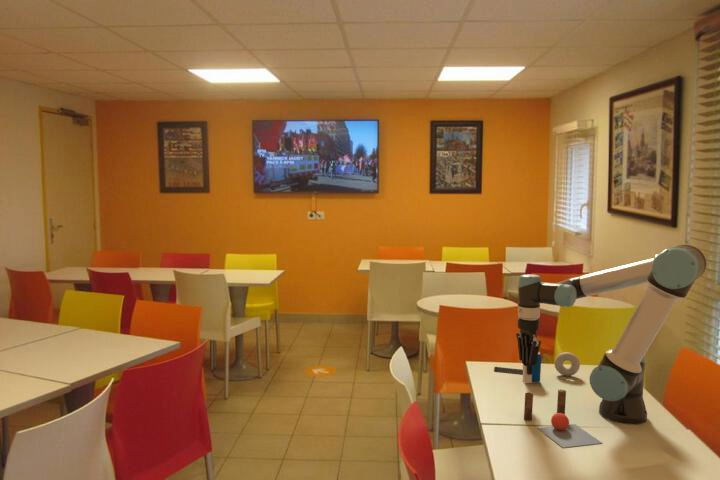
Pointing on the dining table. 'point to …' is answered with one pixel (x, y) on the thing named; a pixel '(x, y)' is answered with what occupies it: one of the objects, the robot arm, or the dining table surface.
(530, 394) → the post left
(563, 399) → the post right
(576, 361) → the donut
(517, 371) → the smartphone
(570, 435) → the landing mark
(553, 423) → the ball
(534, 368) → the beverage can
